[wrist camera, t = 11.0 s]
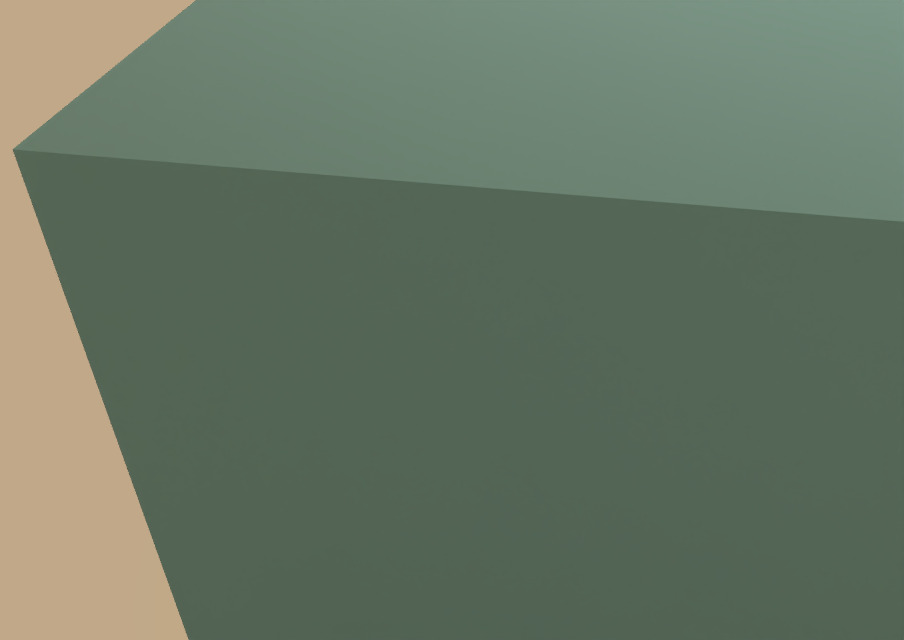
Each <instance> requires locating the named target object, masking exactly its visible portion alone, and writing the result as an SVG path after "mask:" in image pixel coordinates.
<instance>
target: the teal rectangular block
mask: <svg viewBox="0 0 904 640" xmlns="http://www.w3.org/2000/svg"><path fill="white" fill-rule="evenodd" d="M13 152H14V154H15V157H16V160H17V162H18V166H19V168H20V171H21V174H22V177H23V179H24V182H25V185H26V187H27V191H28V193H29V196H30V199H31V201H32V205H33V207H34V210H35V213H36V216H37V218H38V221H39V224H40V227H41V230H42V232H43V235H44V238H45V241H46V244H47V246H48V249H49V252H50V255H51V257H52V260H53V263H54V266H55V269H56V271H57V274H58V277H59V280H60V283H61V285H62V288H63V291H64V294H65V296H66V299H67V302H68V305H69V308H70V310H71V313H72V316H73V319H74V321H75V324H76V327H77V329H78V333H79V335H80V338H81V341H82V344H83V347H84V349H85V352H86V355H87V358H88V360H89V363H90V366H91V369H92V371H93V374H94V377H95V380H96V383H97V385H98V388H99V391H100V394H101V397H102V400H103V402H104V405H105V408H106V410H107V413H108V416H109V419H110V422H111V425H112V427H113V430H114V433H115V436H116V438H117V441H118V444H119V447H120V450H121V452H122V455H123V458H124V461H125V463H126V466H127V469H128V472H129V475H130V477H131V480H132V483H133V486H134V489H135V491H136V494H137V497H138V500H139V502H140V505H141V508H142V511H143V513H144V516H145V519H146V522H147V525H148V527H149V530H150V533H151V536H152V539H153V541H154V544H155V547H156V550H157V553H158V555H159V558H160V561H161V563H162V567H163V569H164V572H165V575H166V578H167V580H168V583H169V586H170V589H171V591H172V594H173V597H174V600H175V602H176V605H177V608H178V611H179V614H180V617H181V619H182V622H183V625H184V628H185V630H186V633H187V636H188V639H189V640H904V0H196V1H194V2H193V3H192V4H191V5H190V6H188V7H187V8H186V9H185V10H183V11H182V12H181V13H180V14H178V15H177V16H176V17H175V18H174V19H172V20H171V21H170V22H169V23H167V24H166V25H165V26H164V27H163V28H161V29H160V30H159V31H158V32H156V33H155V34H154V35H153V36H151V37H150V38H149V39H148V40H147V41H145V42H144V43H143V44H142V45H140V46H139V47H138V48H137V49H136V50H134V51H133V52H132V53H131V54H129V55H128V56H127V57H126V58H125V59H123V60H122V61H121V62H120V63H118V64H117V65H116V66H115V67H113V68H112V69H111V70H110V71H108V72H107V73H106V74H105V75H104V76H102V77H101V78H100V79H99V80H98V81H96V82H95V83H94V84H93V85H91V86H90V87H89V88H88V89H86V90H85V91H84V92H83V93H81V94H80V95H79V96H78V97H77V98H75V99H74V100H73V101H72V102H70V103H69V104H68V105H67V106H66V107H64V108H63V109H62V110H61V111H60V112H58V113H57V114H56V115H54V116H53V117H52V118H51V119H50V120H48V121H47V122H46V123H45V124H43V125H42V126H41V127H40V128H39V129H37V130H36V131H35V132H34V133H32V134H31V135H30V136H29V137H27V138H26V139H25V140H24V141H23V142H21V143H20V144H19V145H18V146H16V147H15V148H14V149H13Z"/></svg>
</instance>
